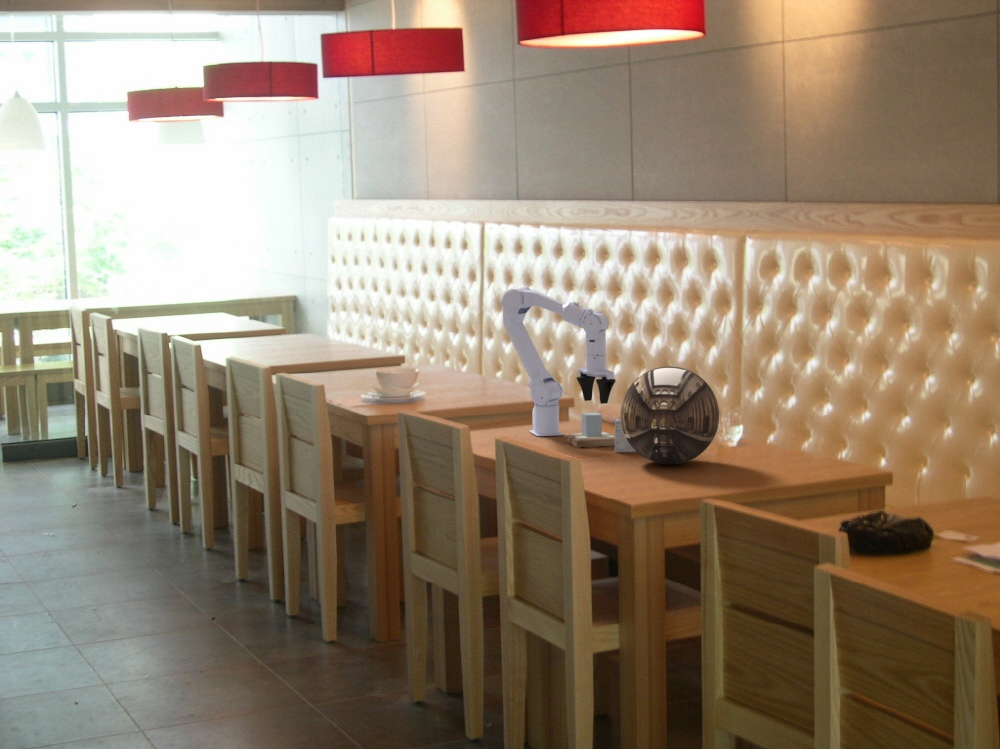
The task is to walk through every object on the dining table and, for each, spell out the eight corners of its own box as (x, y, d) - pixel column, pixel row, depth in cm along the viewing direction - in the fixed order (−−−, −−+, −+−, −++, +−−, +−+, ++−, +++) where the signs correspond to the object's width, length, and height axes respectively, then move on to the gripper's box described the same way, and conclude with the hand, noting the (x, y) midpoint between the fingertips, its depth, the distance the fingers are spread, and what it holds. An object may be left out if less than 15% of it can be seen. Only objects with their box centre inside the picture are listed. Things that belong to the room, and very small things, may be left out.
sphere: (723, 456, 340) (724, 362, 337) (713, 474, 316) (713, 373, 313) (629, 453, 347) (629, 360, 344) (612, 470, 323) (612, 371, 320)
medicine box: (644, 450, 352) (644, 418, 351) (644, 453, 347) (644, 421, 346) (614, 450, 353) (614, 418, 352) (614, 452, 348) (614, 421, 347)
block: (581, 434, 364) (581, 413, 363) (597, 433, 365) (596, 412, 364) (586, 436, 359) (586, 415, 358) (601, 436, 360) (601, 414, 359)
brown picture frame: (567, 442, 366) (567, 433, 365) (608, 440, 368) (608, 431, 368) (577, 448, 356) (577, 439, 356) (619, 445, 359) (619, 436, 358)
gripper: (569, 353, 374) (569, 400, 375) (600, 357, 362) (600, 405, 363) (588, 352, 378) (589, 398, 379) (620, 356, 366) (620, 403, 367)
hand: (595, 401), depth 372 cm, fingers open, 7 cm apart
